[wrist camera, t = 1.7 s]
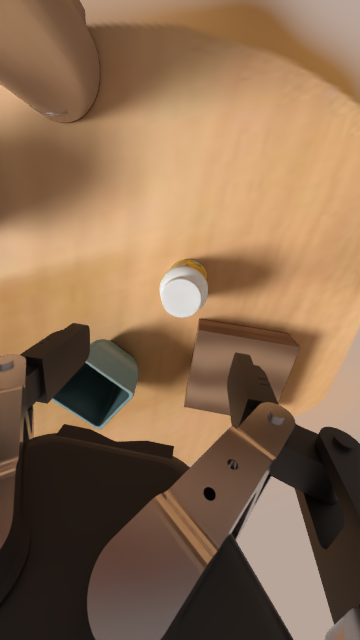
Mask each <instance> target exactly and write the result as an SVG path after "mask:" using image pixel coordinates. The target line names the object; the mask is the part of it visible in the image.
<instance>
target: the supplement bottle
mask: <svg viewBox="0 0 360 640" xmlns="http://www.w3.org/2000/svg"><path fill="white" fill-rule="evenodd" d="M160 296H161V300H162V304H163V306H164V308H165V310H166V311H167V312H168V313H170V314H171V315H173V316H175V317H180V318H184V317H189V316H191V315H193V314H194V313H195V312H196V311H197V310H199V309H200V308H201V307H202V306H203V305H204V303H205V302H206V299H207V296H208V277H207V273H206V270H205V269H204V267H203V266H202V265H201V264H200V263H198V262H196V261H194V260H190V259H185V260H181V261H179V262H177V263H176V264H174V265H173V266H172V267H171V269H170V270H169V271H168V272H167V273H166V275H165V276H164V277H163V279H162V281H161V284H160Z"/></svg>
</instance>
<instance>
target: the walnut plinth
mask: <svg viewBox="0 0 360 640" xmlns="http://www.w3.org/2000/svg"><path fill="white" fill-rule="evenodd" d="M299 349H300V347H299V346H298V344H297V343H296V342H295V341H294V339H293V338H292V337H291V336H290V334H287V333H281V332H275V331H269V330H263V329H257V328H251V327H245V326H239V325H233V324H228V323H222V322H216V321H210V320H204V319H199V324H198V329H197V334H196V340H195V345H194V351H193V356H192V361H191V367H190V372H189V378H188V383H187V389H186V396H185V404H184V407H188V408H194V409H199V410H204V411H209V412H215V413H220V414H225V415H230V408H229V400H228V392H227V379H228V375H229V371H230V368H231V364H232V360H233V357H234V354H235V352H237V353H243V354H248V355H250V356H251V359H252V362H253V364H254V365H257V366H260V367H261V369H262V370H263V371H264V372H265V373H266V375H267V378H268V381H269V382H270V385H271V387H272V390H273V392H274V394H275V397H276V399H277V401H278V402H279V399H280V397H281V394H282V392H283V389H284V387H285V384H286V381H287V379H288V376H289V374H290V371H291V369H292V366H293V364H294V361H295V359H296V356H297V354H298V351H299Z"/></svg>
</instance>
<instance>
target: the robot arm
mask: <svg viewBox="0 0 360 640" xmlns="http://www.w3.org/2000/svg"><path fill="white" fill-rule="evenodd" d="M99 80H100V65H99V59H98V53H97V50H96V47H95V43H94V40H93V38H92V36H91V34H90V32H89V30H88V28H87V26H86V22H85V10H84V8H83V6H82V4H81V2H80V1H79V0H0V84H1V85H2V86H4V87H5V88H6V89H8V90H9V91H11V92H12V93H13V94H15V95H16V96H18V97H19V98H20V99H22V100H23V101H24V102H26V103H27V104H29V106H31V107H32V108H34V109H35V110H36V111H38V112H40V113H41V114H43V115H44V116H46V117H48V118H49V119H51V120H54V121H57V122H72V121H75V120H77V119H79V118H81V117H82V116H84V115H85V113H86V112H87V111H88V110H89V109H90V108H91V106H92V104H93V102H94V100H95V98H96V95H97V92H98V87H99ZM89 354H90V330H89V326H88V325H83V324H77V323H72V324H71V325H69V326H68V327H67V328H65V329H64V330H60V331H57V332H54V333H52V334H50V335H49V336H47V337H46V338H45V339H43V340H41V341H40V342H39V343H37V344H35V345H34V346H32V347H31V348H29V349H28V350H26V351H25V352H23V353H22V354H20V355H15V354H11V355H3V356H0V640H293V638H292V636H291V634H290V633H289V631H288V629H287V628H286V626H285V624H284V622H283V621H282V619H281V617H280V616H279V614H278V612H277V610H276V609H275V607H274V605H273V604H272V602H271V600H270V599H269V597H268V595H267V593H266V592H265V590H264V588H263V587H262V585H261V583H260V581H259V580H258V578H257V576H256V575H255V573H254V571H253V570H252V568H251V566H250V564H249V563H248V561H247V559H246V558H245V556H244V554H243V552H242V551H241V549H240V547H239V546H238V544H237V542H236V541H237V539H238V537H239V535H240V533H241V531H242V530H243V528H244V526H245V523H246V522H247V520H248V518H249V516H250V514H251V512H252V510H253V509H254V507H255V505H256V503H257V502H258V500H259V498H260V496H261V495H262V493H263V491H264V489H265V488H266V486H267V484H268V482H269V480H270V479H271V477H272V476H273V477H274V478H276V479H278V480H280V481H282V482H284V483H286V484H288V485H290V486H292V487H294V488H295V491H296V494H297V498H298V501H299V505H300V508H301V511H302V515H303V518H304V522H305V525H306V529H307V532H308V536H309V539H310V542H311V546H312V549H313V553H314V557H315V560H316V563H317V567H318V570H319V574H320V577H321V581H322V584H323V587H324V591H325V595H326V598H327V601H328V605H329V608H330V612H331V615H332V619H333V622H334V626H333V627H332V628H331V629H330V630H329V631H328V632H327V634H326V637H325V640H360V444H359V443H358V442H357V441H356V440H355V439H354V438H352V437H351V436H350V435H349V434H347V433H345V432H343V431H341V430H339V429H337V428H332V427H324V428H322V429H321V430H320V432H319V434H317V433H314V432H312V431H309V430H307V429H305V428H302V427H300V426H298V425H296V423H295V419H294V417H293V416H292V415H291V413H290V412H289V411H287V410H286V409H285V408H283V407H282V406H280V405H279V404H278V401H277V399H276V397H275V394H274V392H273V390H272V387H271V385H270V382H269V381H268V378H267V375H266V373H265V372H264V371H263V370H262V369H261V367H260V366H257V365H254V364H253V362H252V359H251V356H250V355H248V354H243V353H237V352H235V354H234V357H233V360H232V364H231V368H230V371H229V375H228V379H227V392H228V400H229V408H230V415H231V423H232V426H231V427H230V428H229V429H228V430H227V431H226V432H225V433H224V434H223V435H222V436H221V437H220V438H219V439H218V440H217V441H216V442H215V443H214V444H213V445H212V446H211V447H210V448H209V449H208V450H207V451H206V452H205V453H204V454H203V455H202V456H201V457H200V458H199V459H198V460H197V461H196V462H195V463H194V464H193V465H192V466H191V467H188V466H187V465H186V464H185V463H184V462H182V461H181V460H179V459H178V458H176V457H174V456H173V449H174V446H170V445H165V444H160V443H155V442H150V441H126V442H116V441H113V440H111V439H109V438H107V437H105V436H103V435H101V434H99V433H97V432H95V431H93V430H91V429H86V428H81V427H76V426H71V425H66V424H64V425H63V426H62V428H61V429H60V430H59V432H58V433H54V434H46V435H42V436H38V437H35V438H34V428H33V404H34V403H35V402H36V401H37V402H42V403H47V404H48V402H49V401H50V400H51V399H52V398H53V397H54V396H55V395H56V394H57V393H58V392H59V390H60V389H61V388H62V387H63V386H64V385H65V384H66V383H67V382H68V381H69V380H70V378H71V377H72V376H73V375H74V374H75V373H76V372H77V371H78V370H79V369H80V368H81V367H82V365H83V364H84V363H85V362H86V361H87V359H88V357H89Z"/></svg>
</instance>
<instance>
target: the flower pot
mask: <svg viewBox="0 0 360 640" xmlns="http://www.w3.org/2000/svg"><path fill="white" fill-rule="evenodd" d="M138 375H139V368H138V365H137V363H136V361H135V359H134V358H133V357H132V356H131V355H129V354H128V353H127V352H125V351H124V350H122V349H121V348H120V347H118V346H117V345H116V344H114V343H113V342H112V341H109V340H105V339H101V340H97V341H95V342H93V343H91V344H90V354H89V357H88V359H87V361H86V362H85V363H84V364H83V365H82V367H81V368H80V369H79V370H78V371H77V372H76V373H75V374H74V375H73V376H72V377H71V378H70V380H69V381H68V382H67V383H66V384H65V385H64V386H63V387H62V388H61V389H60V390H59V392H58V393H57V394H56V395H55V396H54V397H53V398H52V399H51V400H53V401H54V402H55V403H57V404H59V405H60V406H62V407H64V408H65V409H67V410H68V411H70V412H72V413H73V414H75V415H76V416H78V417H79V418H81V419H82V420H84V421H86V422H87V423H89V424H90V425H91V426H93V427H94V428H96V429H99V430H100V429H102V428H103V427H104V426H105V425H106V424H107V423H108V422H109V421H110V420H111V419H112V418H113V417H114V416H115V415H116V413H117V412H118V411H119V410H120V409H121V408H122V407H123V406H124V405H125V404H126V403H127V402H128V401H130V400H131V399H132V397H133V396H134V392H135V388H136V384H137V380H138Z"/></svg>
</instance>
